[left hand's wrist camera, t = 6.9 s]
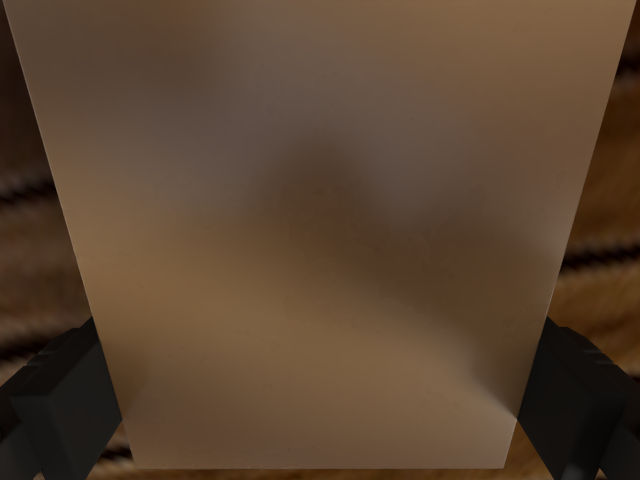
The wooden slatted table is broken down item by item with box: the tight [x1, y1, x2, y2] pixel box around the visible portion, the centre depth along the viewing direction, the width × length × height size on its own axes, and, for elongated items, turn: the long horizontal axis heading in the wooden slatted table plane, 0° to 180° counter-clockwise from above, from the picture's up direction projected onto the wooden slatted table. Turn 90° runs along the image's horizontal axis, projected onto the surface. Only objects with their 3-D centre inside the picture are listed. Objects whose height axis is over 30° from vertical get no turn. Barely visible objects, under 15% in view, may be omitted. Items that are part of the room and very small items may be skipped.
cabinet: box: [2, 0, 636, 469], centre depth 11 cm, size 20×11×9 cm, turn 0°
